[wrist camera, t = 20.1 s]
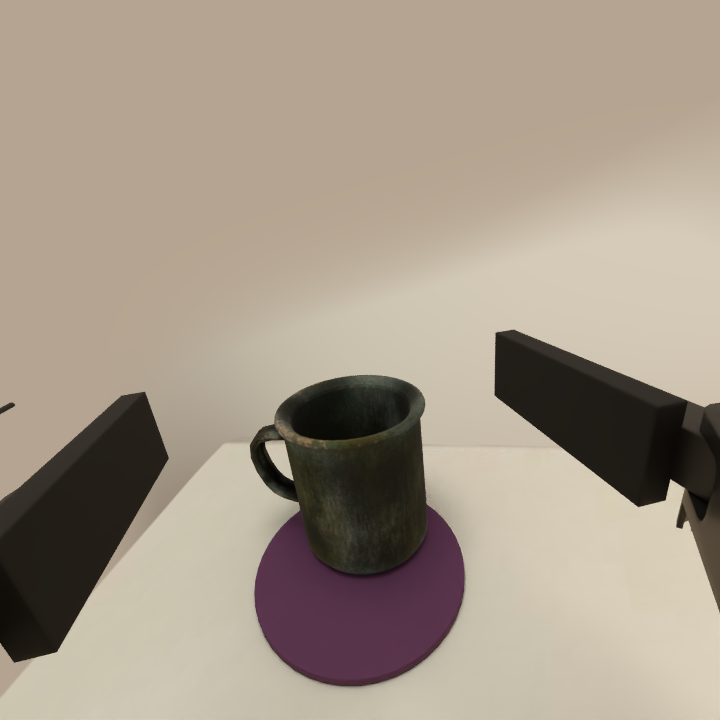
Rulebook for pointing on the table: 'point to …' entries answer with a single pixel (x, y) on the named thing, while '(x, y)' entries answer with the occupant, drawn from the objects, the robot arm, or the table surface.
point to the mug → (353, 469)
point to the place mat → (357, 607)
